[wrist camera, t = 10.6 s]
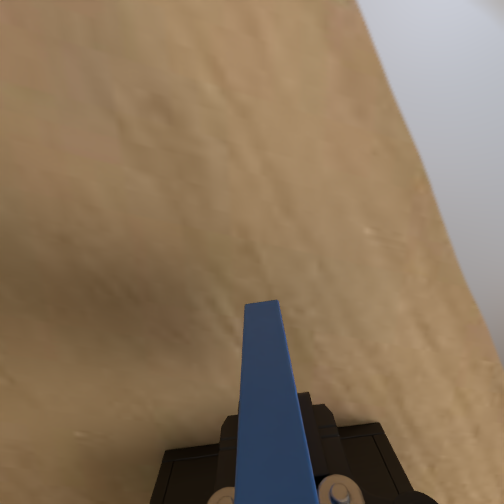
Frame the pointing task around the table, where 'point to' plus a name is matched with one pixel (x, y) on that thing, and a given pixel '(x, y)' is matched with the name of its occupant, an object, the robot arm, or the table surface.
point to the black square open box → (355, 445)
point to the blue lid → (270, 417)
